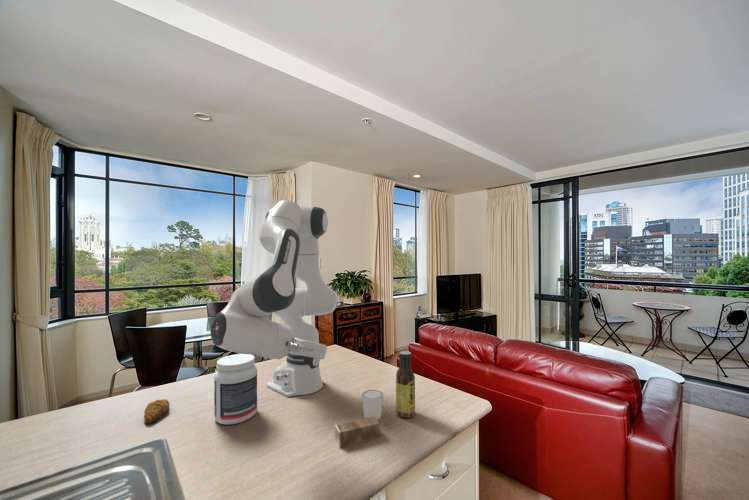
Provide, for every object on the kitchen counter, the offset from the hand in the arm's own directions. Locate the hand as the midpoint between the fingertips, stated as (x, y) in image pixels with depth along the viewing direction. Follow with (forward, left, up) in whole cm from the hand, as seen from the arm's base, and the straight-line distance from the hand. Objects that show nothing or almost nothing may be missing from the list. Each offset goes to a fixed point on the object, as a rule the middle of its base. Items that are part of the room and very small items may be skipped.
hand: (317, 349), depth 89 cm
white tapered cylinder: (+8, +17, -25) cm, 32 cm away
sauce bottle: (+17, +23, -25) cm, 39 cm away
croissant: (-54, -15, -25) cm, 62 cm away
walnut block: (+7, 0, -23) cm, 24 cm away
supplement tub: (-31, -4, -25) cm, 40 cm away
